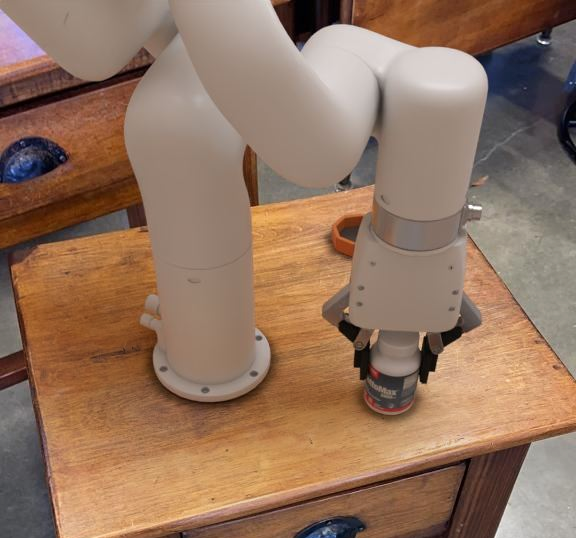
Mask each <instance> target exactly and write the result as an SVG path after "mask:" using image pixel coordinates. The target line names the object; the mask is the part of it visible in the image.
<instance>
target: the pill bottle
mask: <svg viewBox="0 0 576 538" xmlns="http://www.w3.org/2000/svg"><path fill="white" fill-rule="evenodd" d="M420 337H421V335H420V332H411V331H392V330H378V333H377V339H376V341H375V342H374V343H372V345H370V357H369V365H368V374H367V379H365V381H364V387H363V388H364V389H363V399H364V401H365V403H366V404H367V406H368V407H369V408H370V409H371V410H372V411H374V412H376V413H379V414H381V415H385V416H386V415H387V416H395V415H396V416H397V415H401V414H403V413H405V412H407V411H408V410H409V409H410V408H411V407H412V406H413V404H414V402H415V397H416V392H417V388H418V383H419V373H420V367H421V362H422V354H421V349H420V347H419V345H420Z"/></svg>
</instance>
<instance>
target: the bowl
mask: <svg viewBox="0 0 576 538" xmlns="http://www.w3.org/2000/svg"><path fill="white" fill-rule="evenodd" d="M365 215H366V214H364V213H353V214H347V215H342V216H341V217H339V218H338V219H337V220H336V221H335V222H334V223H333V224H332V225H331V237H330V239H331V241H332V244H333V246H334V249H335V250H336V252H339V253H342V254H344V255H346V256H349V257H351V258H353V253H354V248H355V243H356V238H357V235H358V231H359V228H360V225H361V222H362V219H363V217H364V216H365Z"/></svg>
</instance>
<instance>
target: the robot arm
mask: <svg viewBox="0 0 576 538" xmlns="http://www.w3.org/2000/svg"><path fill="white" fill-rule="evenodd" d="M0 10H1V12H3V13H4V14H5V16H7V17H8V18H9V19H10V20H11V21H12V22H13V23H14V24H15V25H16V26H18V28H19V29H20V30H21V31H22V32H24V33H25V35H26V36H27V37H29V39H30V40H32V41H33V42H34V43H35V44H36V45H37V46H38V48H40V49H41V50H42V51H43V53H45V54H46V55H47V56H48V57H49V58H50V59H51V60H53V61H54V62H55V63H56V64H57V65H58V66H60V67H61V68H62V69H63V70H64V71H66V73H69V74H70V75H72V76H73V77H75V78H78V79H80V80H83V81H86V82H102V81H105V80H107V79H110V78H112V77H113V76H115V75H117V74H118V73H119V72H120V71H122V69H124V68H125V67H126V66H127V65H128V64H129V63H130V62H131V61H132V60H133V59H134V58H135V56H137V54H138V53H139V52H140V50H142V48H144V49H145V50H146V51H147V53H149V54H150V55H151V56H152V57H153V58H154V59H155V60H154V62H153V63H152V64H151V65H150V67H149V68H148V69H147V71H146V72H145V73H144V75H143V76H142V77H141V79H140V80H139V82H138V84H137V85H136V87H135V89H134V90H133V92H132V94H131V97H130V99H129V102H128V104H127V107H126V110H125V115H124V122H123V139H124V146H125V150H126V154H127V157H128V160H129V164H130V166H131V168H132V172H133V174H134V176H135V179H136V182H137V185H138V189H139V192H140V196H141V201H142V205H143V209H144V216H145V220H146V226H147V234H148V240H149V244H150V250H151V256H152V261H153V262H152V264H153V269H154V276H155V277H154V278H155V281H156V282H155V283H156V288H157V289H156V290H157V294H155V293H150V294H149V295H148V296H147V297H146V299H145V301H144V309H145V310H146V311H148V312H150V313H152V314H154V315H156V316H159V317H161V318H160V319H159V318H157V317H155V316H153V315H152V314H149V313H147V312H144V313H142V314H141V316H140V317H139V323H140V325H141V326H143V327H145V328H147V329H149V330H153V331H154V332H155V334H156V337H157V342H156V343H155V346H154V348H153V351H152V352H153V353H152V363H153V369H154V373H155V375H156V377H157V379H158V380H159V382H160V383H161V385H163V386H164V387H165V389H167V390H168V391H170V392H171V393H173V394H175V395H176V396H178V397H181V398H184V399H187V400H190V401H196V402H200V403H216V402H224V401H229V400H233V399H236V398H239V397H241V396H244V395H245V394H247V393H249V392H250V391H252V390H254V389H255V388H256V387H257V386H259V385H260V384H261V383H262V381H263V380H264V379H265V377H266V376H267V374H268V373H269V370H270V368H271V360H272V359H271V357H272V356H271V348H270V347H271V346H270V344H269V341H268V339H267V338H266V335H264V333H263V332H262V331H261V330H260V329H259V328H258V327H256V305H255V301H256V300H255V274H254V273H255V272H254V242H253V240H254V239H253V223H252V221H253V220H252V207H251V200H250V196H249V191H248V188H247V186H246V182H245V178H244V171H243V170H244V169H243V165H244V164H243V163H244V157H245V152H246V148H247V146H249V148H250V149H251V150H252V151H253V152H254V153H255V154H256V156H257V157H259V159H260V160H262V162H263V163H264V164H265V165H267V167H269V168H270V169H271V170H272V171H274V172H275V173H276V174H277V175H279V176H280V177H282V179H285V180H287V181H288V182H289V183H291V184H294V185H296V186H299V187H303V188H308V189H313V190H314V189H324V188H329V187H332V186H334V185H336V184H339V183H340V182H342V181H343V180H344V179H345V178H346V177H348V176H349V175H350V174H351V173H352V171H353V170H354V169H355V168H356V167H357V165H358V163H359V162H360V160H361V158H362V156H363V154H364V151H365V149H366V147H367V145H368V142H369V141H370V138H371V137H373V138H374V139H375V140H376V141H377V144H378V145H377V146H378V147H377V156H376V157H377V158H376V168H375V177H374V187H373V196H372V205H371V206H372V207H371V210H370V211H368V212H367V213H366V214H365V216H364V217H363V219H362V222H361V225H360V228H359V231H358V235H357V238H356V243H355V248H354V253H353V257H352V258H351V260H352V261H351V267H350V274H349V281H348V283H347V284H345V286H343V287H342V288H341V289H340V290H338V291H337V292H336V293H335V294H334V295H333V296H332V297H330V298H329V299H328V300H327V301H325V302H324V303H323V304H322V306H321V307H322V308H321V317H322V318H323V319H324V320H325V321H326V322H328V323H329V324H330V325H331V326H333V327H336V328H337V329H338V332H339V333H341V334H342V335H343V336H344V337H345V338H346V339H347V340H348V341H349V342H351V343H352V348H353V349H354V351H353V366H352V368H353V369H359V381H364V382H365V380H366V379H367V374H368V365H369V357H370V348H371V338H372V335H373V334H374V332H375V330H377V331H379V330H392V331H411V332H419V333H425V335H423V338H422V342H421V349H420V351H421V354H422V362H421V367H420V373H419V378H418V383H421V385H427V384H428V381H429V375H430V373H435V372H436V369H437V364H438V360H439V355H440V354H442V353H443V352H444V351H445V350H444V348H445V347H447V346H449V345H451V344H453V343H454V342H455V341H458V340H459V339H461V338H462V336H463V334H467V333H469V332H471V331H473V330H475V329H477V328H479V327H480V326H482V324H483V317H482V312H481V310H480V309H479V308H478V307H477V305H476V304H475V303H474V302H473V300H472V299H471V298H470V297H469V295H467V293H466V292H465V291H464V287H465V286H464V285H465V277H466V269H467V268H466V265H467V253H468V252H467V251H468V225H467V223H471V222H472V221H477V222H480V220H481V217H482V211H483V205H482V203H474V202H473V201H469V197H468V194H469V193H468V192H469V188H470V182H471V178H472V173H473V168H474V164H475V163H474V162H475V157H476V153H477V149H478V143H479V139H480V133H481V128H482V123H483V118H484V113H485V108H486V104H487V98H488V91H489V80H488V79H489V78H488V75H487V73H486V70H485V68H484V66H483V65H482V63H480V61H479V60H477V59H476V58H475V57H474V56H473V55H471V54H469V53H467V52H465V51H462V50H459V49H456V48H451V47H446V46H445V47H444V46H424V47H418V46H415V45H411V44H407V43H405V42H402V41H399V40H396V39H393V38H391V37H388V36H386V35H383V34H380V33H378V32H375V31H373V30H369V29H367V28H363V27H361V26H360V27H359V26H356V25H352V24H345V23H341V24H331V25H327V26H324V27H322V28H320V29H319V30H317V31H316V32H315V33H313V35H311V36H310V38H308V40H307V41H306V42H305V43H304V45H303V46H302V48H301V50H299V49H298V48H297V46H296V45H295V43H294V41H293V40H292V39H291V37H290V35H289V34H288V32H287V31H286V29H285V28H284V26H283V24H282V23H281V21H280V19H279V16H278V15H277V12H276V9H275V8H274V6H273V4H272V1H271V0H0ZM347 308H348V312H345V310H346V309H347Z"/></svg>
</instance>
